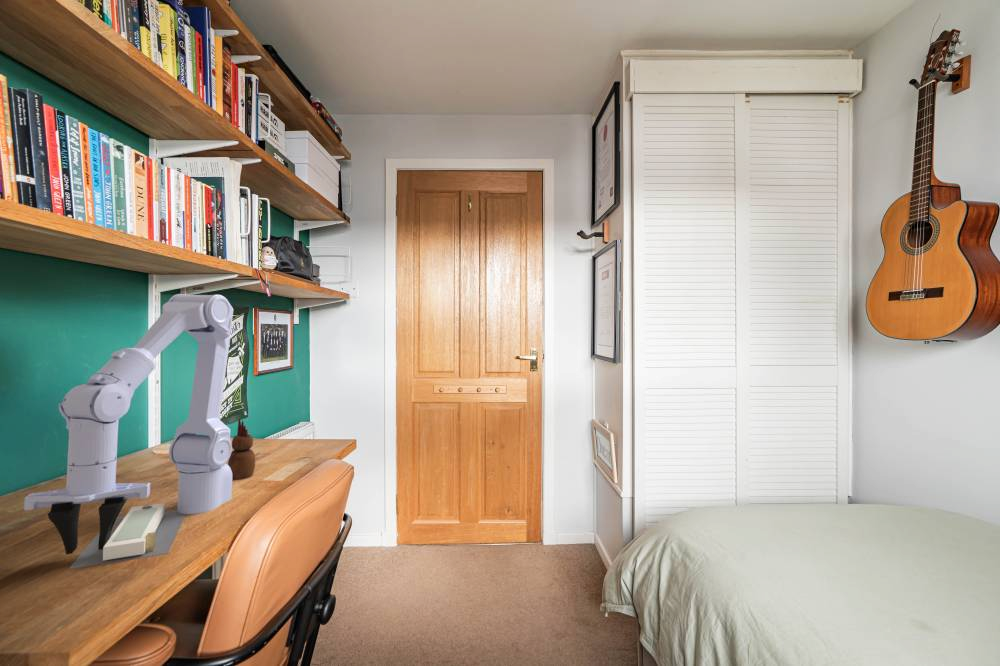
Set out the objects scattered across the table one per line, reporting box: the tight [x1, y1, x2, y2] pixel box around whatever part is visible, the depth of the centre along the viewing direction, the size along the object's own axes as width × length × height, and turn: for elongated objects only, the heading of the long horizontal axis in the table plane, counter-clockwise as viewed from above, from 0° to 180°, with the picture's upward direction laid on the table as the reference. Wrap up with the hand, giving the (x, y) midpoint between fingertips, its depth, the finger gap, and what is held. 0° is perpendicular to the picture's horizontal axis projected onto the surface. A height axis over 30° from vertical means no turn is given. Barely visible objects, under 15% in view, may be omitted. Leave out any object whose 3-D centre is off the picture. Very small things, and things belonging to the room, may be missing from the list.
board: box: [68, 508, 187, 570], centre depth 78 cm, size 21×12×4 cm, turn 27°
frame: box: [103, 502, 166, 560], centre depth 78 cm, size 18×5×2 cm, turn 29°
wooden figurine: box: [227, 418, 256, 480], centre depth 112 cm, size 7×6×15 cm
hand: (88, 549), depth 70 cm, fingers open, 3 cm apart
